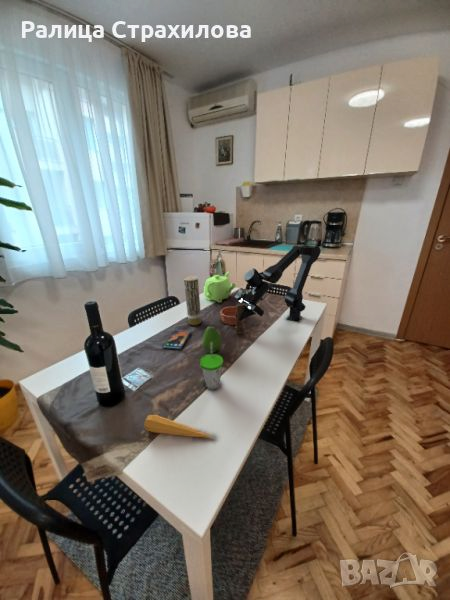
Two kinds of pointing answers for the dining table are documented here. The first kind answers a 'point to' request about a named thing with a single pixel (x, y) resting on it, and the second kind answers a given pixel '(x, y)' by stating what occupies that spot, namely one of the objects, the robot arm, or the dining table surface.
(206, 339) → the avocado
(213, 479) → the dining table surface
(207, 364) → the cup
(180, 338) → the smartphone
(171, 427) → the carrot
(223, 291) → the teapot
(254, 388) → the dining table surface
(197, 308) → the wooden log
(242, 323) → the stirring stick
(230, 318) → the bowl
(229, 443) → the dining table surface
